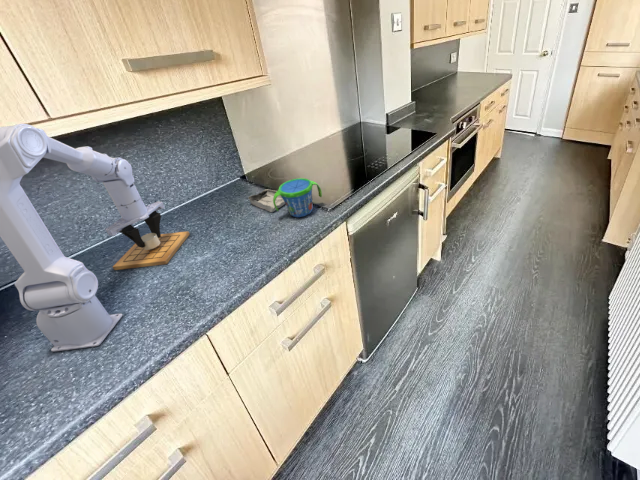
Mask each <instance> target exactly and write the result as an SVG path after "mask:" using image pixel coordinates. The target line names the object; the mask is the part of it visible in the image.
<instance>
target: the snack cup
mask: <svg viewBox="0 0 640 480" xmlns="http://www.w3.org/2000/svg"><path fill="white" fill-rule="evenodd" d="M313 186H316V188H317V191H318V197H319V198H322V197H323V192H322V188H321V186H320V185H319V184H318V183H317V182H316V181H313V180H310V179H309V178H303V177H299V178H293V179H289V180H287V181H285V182H283V183H282V184H280V185H279V186H278V189H277V190H276V191H277V192H276V193H275V195H274V198H273V203H274V206H275V208H276V210H275V211H276V212H279V208H277V206H276V204H275V200H276V198H277V197H278V196H279V195H281V197H282V198H283V200H284V202H285V206H286V209H287V210H288V213H289V215H290V216H292V217H294V218H304V217H305V216H308V215H310V214H311V213H312V211H313V208H314V207H313V206H314V205H313Z"/></svg>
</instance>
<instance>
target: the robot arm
mask: <svg viewBox="0 0 640 480" xmlns="http://www.w3.org/2000/svg"><path fill="white" fill-rule="evenodd" d="M42 159H48V160H51V161H55V162H60V163H64V164H66V165H67V167H68V169H70V170H71V171H74V172H77V173H80V174H83V175H87V176H89V177H91V178H92V179H93V181H94V182H96V183H102V184H103V187H104V188H105V190H106V192H107V193H108V195H109V198H110V199H111V200H112V202H113V205H114V206H115V207H116V209H117V211H118V213H119V215H120V216H121V217H120V218H119V219H118V220H117V221H115V222H114V223H112V224H111V225H110V226H108V227H106V228H105V229H104V230H105V231H106V233H107V235H108V236H110V237H115V236H117V235H118V233H121V234H122V235H124V236H125V237H126V238H129V239H130V240H131V241H132V242H133V243H134V244H135V243H136V245H137V246H138V247H141V248H144V247H145V244H144V242H143V240H142V239H141V237H142V236H141V234H140V230H139V228H138V227H135V226H134V224H136V223H137V222H140V221H144V223H145V224H146V226H147V227H148V229H149V231H150V233H156V235H157V237H158V238H160V237H161V235H160V234H161V219H162V215H161V213H160V212H157V211H159V210H163V209H165V205H164V202H163V201H156V202H153V203H150V204H148V205H145V203H144V201H143V199H142V197H141V194H140V193H139V191H138V189H137V187H136V185H135V177H134V175H133V167H132V165H131V163H130V162H129V161H128V160H127V159H124V158H123V157H111V156H109V155H108V154H107V153H101V152H98V151H96V150H93V147H91V146H80V147H73V146H70V145H68V144H66V143H63V142H62V141H59V140H57V139H55V138H52V137H50V136H48V135H47V133H46V131H45V130H44V129H42V128H39V127H35V126H33V125H31V124H28V123H15V124H13V125H5V126H0V239H1V240H2V242H3V243H4V244H5V246H6V248H7V249H8V250H9V251H10V253H11V255H12V256H13V258H15V260H16V261H17V263H18V265H19V266H20V267H21V268H22V270H23V273H22V274H21V275H20V276H19V277H18V278H17V279H16V281H15V282H14V287H15V288H16V289H17V291H18V294H19V302H20V303H21V304H20V305H22V307H23V308H25V310H27V311H30V312H31V311H32V312H36V311H39V312H38V313H37V315H36V327H37V329H38V330H39V331H40V332H41V333H42V334H43V336H45V338H46V339H47V340H48V341H49V342H50V343H51V344H52V345H53V347H52V348H51V349H50V351H51V352H53V353H54V352H61V351H62V352H63V351H69V350H70V351H71V350H78V349H85V348H92V347H93V348H94V347H99V346H100V345H101V344H102V343H103V342H104V340H105V339H106V338H107V337H108V335H109V334H110V333H111V332H112V330H113V329H114V327H115V326H116V325H117V324H118V323H119V321H120V319H121V318H122V317H123V315H124V314H122V313H113V314H109V313H108V311H107V310H106V308H105V307H104V306H103V304H102V303H101V301H100V299H99V298H98V297H97V295H96V294H97V293H98V288H99V281H98V277H97V276H96V274H95V273H94V272H93V271H91V270H90V269H88V268H87V267H86V266H85V264H84V263H83V261H79V260H78V259H77V260H76V259H73V258H69V257H67V256H65V255H64V253H63V252H62V250H61V248H60V246H59V245H58V244H57V242H56V241H55V239H54V237H53V236H52V234H51V233H50V231H49V228H47V226H46V224H45V223H44V221H43V220H42V218H41V215H40V214H39V213H38V211H37V209H36V208H35V207H34V205H33V203H32V202H31V200H30V198H29V197H28V195H27V193H26V191H25V190H24V188H23V187H22V185H21V181H22V179H23V177H24V176H25V175H27V174H29V173H30V172H31V171H32V170H33V169H34V168H35V166H36V165H37V164H38V163H39V162H40V161H41V160H42Z"/></svg>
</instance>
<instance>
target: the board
mask: <svg viewBox="0 0 640 480" xmlns="http://www.w3.org/2000/svg"><path fill="white" fill-rule="evenodd" d="M160 235H161V237H160V238H158V239H159V240H160V244H159V245H158V246H157V247H155V248H153V249H150V250H144V249H143V248H141V247H138V246H137V245H136V243H134V244H133V245H132V246H131V247H130V248H129V249H128V250H127V251H126V252H125V253H124V254H123V255H122V257H120V259H119V260H117V262H116V263H114V265H113V266H112V269H113V270H114V271H118V270H120V271H121V270H129V269H137V268H145V267H152V266H154V267H155V266H162V265H167V264H169V262H170V260H171V259H172V258H173V257H174V256H175V254H176V253H177V252H178V251H179V249H180V248H181V247H182V245H183V244H184V243H185V241H186V240H187V239H188V238H189V236H190V235H191V234H190V232H189V231H177V232H170V233H160Z"/></svg>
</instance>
